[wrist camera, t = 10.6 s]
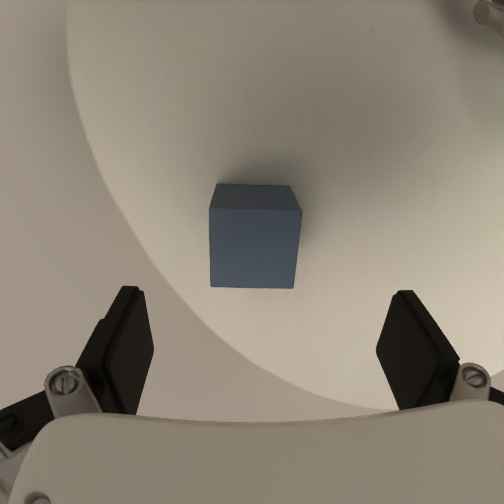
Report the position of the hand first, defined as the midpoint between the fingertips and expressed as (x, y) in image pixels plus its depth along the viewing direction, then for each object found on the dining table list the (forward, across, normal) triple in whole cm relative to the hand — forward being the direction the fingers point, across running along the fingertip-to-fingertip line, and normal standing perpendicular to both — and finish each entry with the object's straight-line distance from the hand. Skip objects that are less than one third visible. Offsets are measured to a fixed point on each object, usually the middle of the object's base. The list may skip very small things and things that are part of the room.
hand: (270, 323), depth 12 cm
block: (+10, 0, 0) cm, 11 cm away
